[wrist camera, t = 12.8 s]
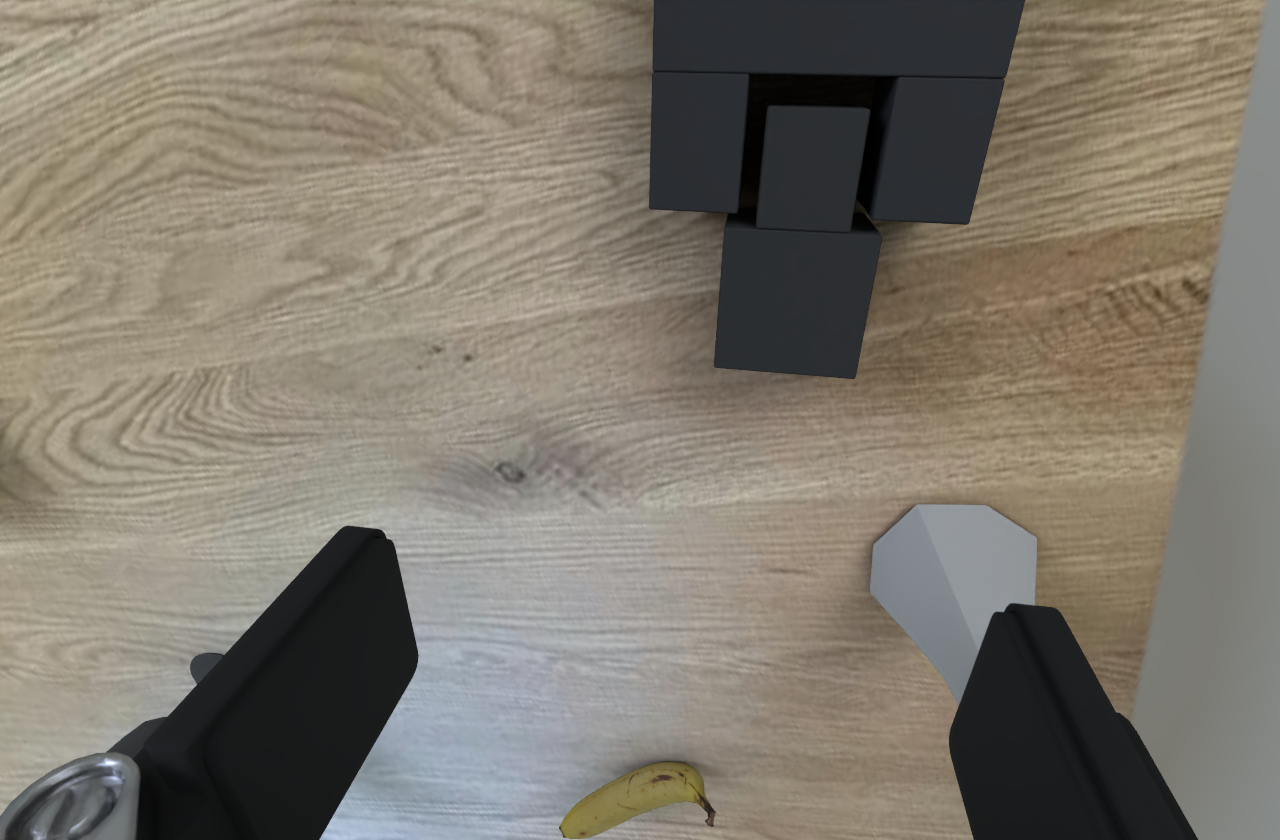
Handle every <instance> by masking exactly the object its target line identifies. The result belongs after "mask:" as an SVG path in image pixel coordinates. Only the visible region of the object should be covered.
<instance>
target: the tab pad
mask: <svg viewBox="0 0 1280 840" xmlns="http://www.w3.org/2000/svg"><path fill="white" fill-rule="evenodd" d="M869 117H870V110H869V109H867V108H864V107H860V106H856V105H853V104H820V103H780V102H769V103H767V105H766V114H765V124H764V134H763V145H762V155H761V165H760V175H759V185H758V195H757V205H756V208H741V207H738V212H737V213H728V217H727V221H726V225H725V229H724V240H723V253H722V266H721V279H720V292H719V305H718V318H717V331H716V344H715V357H714V367H715V368H726V369H738V370H750V371H763V372H775V373H787V374H800V375H812V376H824V377H836V378H849V379H855V377H856V373H857V367H858V362H859V357H860V352H861V346H862V341H863V336H864V331H865V325H866V320H867V315H868V310H869V304H870V299H871V294H872V289H873V283H874V278H875V273H876V268H877V262H878V257H879V252H880V247H881V241H882V235H881V234H880V233H879V232H878V230H877V229H876V228H875V226H874V225H873V224H872V222H871V221H870V220H869V219H868V217H867V216H866V215H865V214H864V213H854V207H855V201H856V195H857V189H858V183H859V177H860V171H861V165H862V159H863V153H864V147H865V141H866V135H867V129H868V123H869Z"/></svg>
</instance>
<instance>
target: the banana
mask: <svg viewBox="0 0 1280 840" xmlns="http://www.w3.org/2000/svg"><path fill="white" fill-rule="evenodd" d="M685 801H686V802H692V803H697V804H699V805H700V806H701V807H702V808H703V809H704V810H705V811H706V812H707V813H708V819H707V820H705V822H706V823H707V825H709V826H711V827H713V826H714V825H713V821H714V817H715V813H716V812H715V811H714V809H713V808H712V807H711V805H710V803H709V802H708V800H707V798H706V796H705V793H704V781H703V779H702V777H701V775H700V774H699V773H698V772H697V771H696V770H695V769H694V768H692V767H691V766H689V765H686V764H684V763H679V762H661V763H655V764H651V765H647V766H645V767H642V768H639V769H636V770H634V771H632V772H629V773H627V774H625V775H623V776H621V777H619V778H617V779H615V780H613V781H612V782H610V783H608V784H606V785H605V786H603V787H602V788H600V789H598V790H596V791H595V792H593V793H592V794H590V795H588V796H587V797H585V798H584V799H582V800H581V801H579V802H578V803H577V804H576V805H575V806H574V807H573V808H572V809H571V810H570V811H569V813H568V814H567V815H566V816H565V818H564V819H563V821H562V823H561V825H560V827H559V829H560V830H561V832H562V834H563V837H564V838H570V839H582V838H587V837H591V836H594V835H597V834H600V833H602V832H604V831H606V830H608V829H610V828H612V827H614V826H617V825H619V824H621V823H623V822H625V821H627V820H629V819H631V818H632V817H634V816H637V815H639V814H642V813H644V812H647V811H650V810H652V809H655V808H658V807H662V806H666V805H669V804H672V803H678V802H685Z"/></svg>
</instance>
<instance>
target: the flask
mask: <svg viewBox="0 0 1280 840" xmlns="http://www.w3.org/2000/svg"><path fill="white" fill-rule="evenodd" d="M1036 561H1037V537H1035V536H1034V535H1032V534H1030V533H1029V532H1027V531H1026V530H1024V529H1023V528H1021V527H1020V526H1018V525H1016V524H1015V523H1013V522H1012V521H1010V520H1009V519H1007V518H1006V517H1004V516H1002V515H1001V514H999V513H998V512H996V511H995V510H993V509H992V508H990V507H988V506H987V505H924V504H917V505H916V506H915V507H914V508H912V509H911V510H910V511H909V512H908V513H907V514H906V515H905V516H904V517H903V518H902V519H901V520H900V521H898V522H897V523H896V524H895V525H894V526H893V527H892V528H891V529H890V530H889V531H888V532H887V533H885V534H884V535H883V536H882V537H881V538H880V539H879V540H878V541H877V542H876V543H875V544H874V545H873V557H872V570H871V583H870V592H871V594H872V595H873V596H874V597H875V598H876V600H877V601H878V602H879V603H880V604H881V605H882V607H883V608H884V609H885V610H886V611H887V612H888V613H889V614H890V615H891V616H892V618H893V619H894V620H895V621H896V622H897V623H898V624H899V625H900V626H901V628H902V629H903V630H904V631H905V632H906V633H907V634H908V635H909V637H910V638H911V639H912V640H913V641H914V643H915V644H916V645H917V646H918V647H919V649H920V650H921V651H922V652H923V653H924V655H925V656H926V657H927V658H928V660H929V661H930V662H931V663H932V664H933V666H934V667H935V668H936V669H937V670H938V672H939V673H940V674H941V675H942V677H943V678H944V680H945V682H946V683H947V685H948V687H949V689H950V690H951V692H952V694H953V696H954V697H955V699H956V701H957V703H958V704H960V701H961V699H962V696H963V693H964V690H965V688H966V685H967V682H968V679H969V677H970V674H971V671H972V669H973V666H974V663H975V660H976V658H977V655H978V652H979V649H980V647H981V644H982V641H983V638H984V636H985V633H986V630H987V627H988V625H989V622H990V619H991V617H992V615H993V613H995V612H998V611H999V612H1004V611H1005V609H1006V607H1007V606H1008V605H1009V604H1010V603H1018V604H1026V605H1035V584H1036Z"/></svg>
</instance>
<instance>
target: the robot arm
mask: <svg viewBox="0 0 1280 840" xmlns="http://www.w3.org/2000/svg"><path fill="white" fill-rule="evenodd" d="M417 663H418V650H417V645H416V641H415V636H414V631H413V627H412V622H411V618H410V613H409V609H408V604H407V600H406V595H405V591H404V586H403V582H402V577H401V573H400V568H399V564H398V559H397V554H396V550H395V546H394V543H393V542H392V541H391V540H389V539H387V538H386V536H385V533H384V532H383V531H382V530H379V529H372V528H364V527H355V526H345V527H343V528H342V529H340V530H339V531H338V532H337V533H336V534H335V535H334V536H333V537H332V539H331V540H330V541H329V542H328V543H327V544H326V545H325V546H324V547H323V548H322V549H321V551H320V552H319V553H318V554H317V555H316V556H315V557H314V558H313V559H312V560H311V561H310V563H309V564H308V565H307V566H306V567H305V568H304V569H303V570H302V571H301V572H300V573H299V575H298V576H297V577H296V578H295V579H294V580H293V581H292V582H291V583H290V584H289V585H288V586H287V588H286V589H285V590H284V591H283V592H282V593H281V594H280V595H279V596H278V597H277V598H276V600H275V601H274V602H273V603H272V604H271V605H270V606H269V607H268V608H267V609H266V610H265V612H264V613H263V614H262V615H261V616H260V617H259V618H258V619H257V620H256V621H255V622H254V624H253V625H252V626H251V627H250V628H249V629H248V630H247V631H246V632H245V633H244V634H243V635H242V637H241V638H240V639H239V640H238V641H237V642H236V643H235V644H234V645H233V646H232V647H231V649H230V650H229V651H228V652H227V653H226V654H225V655H224V656H223V657H222V658H221V659H220V661H219V662H218V663H217V664H216V665H215V666H214V667H213V668H212V669H211V670H210V671H209V673H208V674H207V675H206V676H205V677H204V678H203V679H202V680H201V681H200V682H199V683H198V684H197V686H196V687H195V688H194V689H193V690H192V691H191V692H190V693H189V694H188V695H187V696H186V698H185V699H184V700H183V701H182V702H181V703H180V704H179V705H178V706H177V707H176V708H175V710H174V711H173V712H172V713H171V714H170V715H169V716H168V717H167V718H166V719H165V720H164V722H163V723H162V724H161V725H160V726H159V727H158V728H157V729H156V730H155V731H154V732H153V733H152V735H151V736H150V737H149V738H148V739H147V740H146V741H145V742H144V743H143V744H144V747H143V748H142V749H141V751H140V752H139V753H138V754H137V755H136V756H135V757H134V758H133V759H131V758H130V757H129V756H126V755H123V754H120V753H116V752H110V753H96V754H92V755H89V756H85V757H82V758H78V759H75V760H73V761H71V762H69V763H67V764H64V765H62V766H60V767H58V768H56V769H54V770H52V771H51V772H49V773H48V774H46V775H45V776H43V777H42V778H40V779H39V780H37V781H36V782H34V783H33V784H31V785H30V786H29V787H28V788H27V789H25V790H24V791H23V792H22V793H21V794H20V795H19V796H18V797H16V798H15V799H14V800H13V801H12V802H11V803H10V804H9V806H8V807H7V808H6V809H5V811H4V812H3V813H2V814H1V816H0V840H319V839H320V837H321V836H322V834H323V832H324V830H325V829H326V827H327V825H328V824H329V822H330V820H331V818H332V817H333V815H334V813H335V811H336V810H337V808H338V806H339V804H340V803H341V801H342V799H343V797H344V796H345V794H346V792H347V790H348V789H349V787H350V785H351V783H352V782H353V780H354V778H355V777H356V775H357V773H358V771H359V770H360V768H361V766H362V764H363V763H364V761H365V759H366V757H367V756H368V754H369V752H370V750H371V749H372V747H373V745H374V743H375V742H376V740H377V738H378V737H379V735H380V733H381V731H382V730H383V728H384V726H385V724H386V723H387V721H388V719H389V717H390V716H391V714H392V712H393V710H394V709H395V707H396V705H397V703H398V702H399V700H400V698H401V697H402V695H403V693H404V691H405V690H406V688H407V686H408V684H409V683H410V681H411V679H412V677H413V675H414V673H415V671H416V668H417ZM949 747H950V754H951V759H952V762H953V766H954V769H955V773H956V777H957V780H958V784H959V788H960V791H961V795H962V798H963V802H964V806H965V809H966V813H967V817H968V820H969V824H970V827H971V831H972V835H973V838H974V840H1198V838H1197V837H1196V835H1195V833H1194V832H1193V830H1192V828H1191V826H1190V825H1189V823H1188V821H1187V819H1186V817H1185V816H1184V814H1183V812H1182V810H1181V809H1180V807H1179V805H1178V803H1177V802H1176V800H1175V798H1174V796H1173V794H1172V793H1171V791H1170V789H1169V787H1168V786H1167V784H1166V782H1165V780H1164V779H1163V777H1162V775H1161V773H1160V772H1159V770H1158V768H1157V766H1156V765H1155V763H1154V761H1153V759H1152V757H1151V756H1150V754H1149V752H1148V750H1147V749H1146V747H1145V745H1144V744H1143V742H1142V740H1141V738H1140V736H1139V735H1138V733H1137V731H1136V730H1135V728H1134V727H1133V726H1132V724H1131V723H1130V721H1129V720H1128V719H1126V718H1125V717H1124V716H1123V715H1121V714H1120V713H1117V712H1115V710H1114V708H1113V706H1112V704H1111V703H1110V701H1109V699H1108V697H1107V695H1106V694H1105V692H1104V690H1103V688H1102V686H1101V684H1100V683H1099V681H1098V679H1097V677H1096V675H1095V674H1094V672H1093V670H1092V668H1091V666H1090V665H1089V663H1088V661H1087V659H1086V657H1085V655H1084V654H1083V652H1082V650H1081V648H1080V646H1079V645H1078V643H1077V641H1076V639H1075V637H1074V636H1073V634H1072V632H1071V630H1070V628H1069V627H1068V625H1067V623H1066V621H1065V619H1064V617H1063V616H1062V614H1061V613H1060V612H1059V611H1058V610H1057V609H1055V608H1052V607H1044V606H1035V605H1026V604H1018V603H1010V604H1009V605H1008V606H1007V607H1006V609H1005V611H1004V612H999V611H998V612H995V613H993V615H992V617H991V619H990V622H989V625H988V627H987V630H986V633H985V636H984V638H983V641H982V644H981V647H980V649H979V652H978V655H977V658H976V660H975V663H974V666H973V669H972V671H971V674H970V677H969V679H968V682H967V685H966V688H965V690H964V693H963V696H962V699H961V701H960V704H959V707H958V710H957V712H956V715H955V718H954V721H953V723H952V726H951V729H950V735H949Z"/></svg>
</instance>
